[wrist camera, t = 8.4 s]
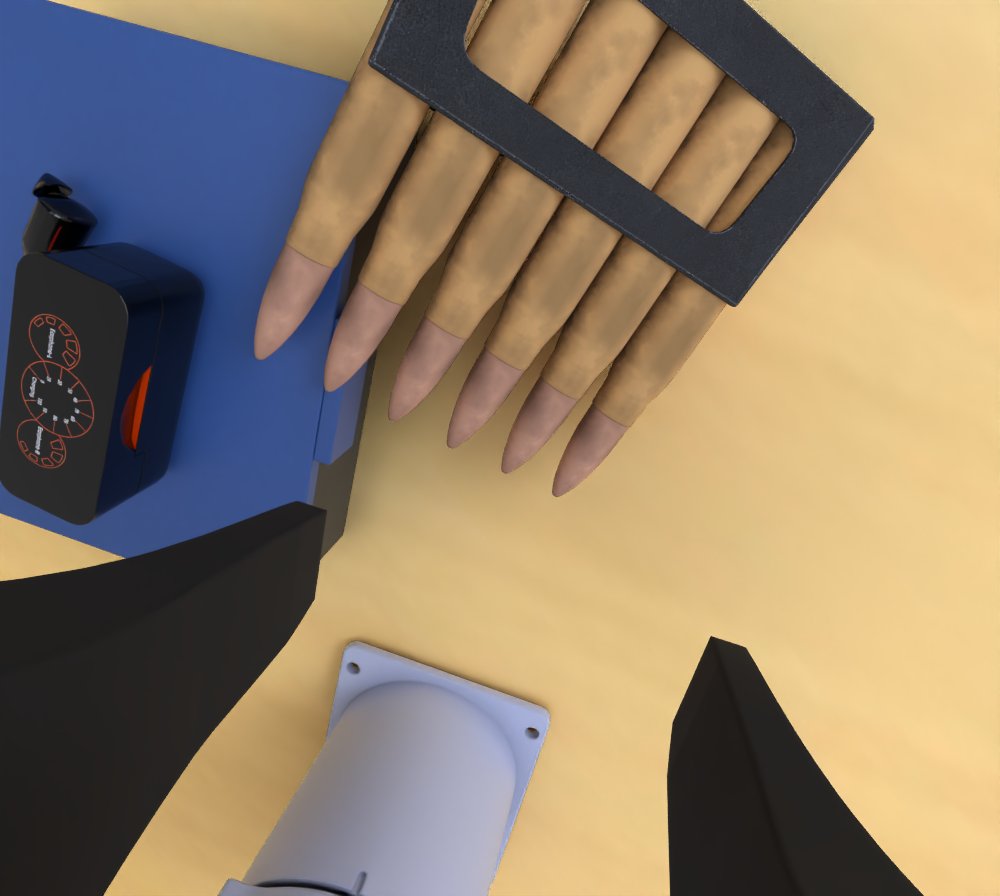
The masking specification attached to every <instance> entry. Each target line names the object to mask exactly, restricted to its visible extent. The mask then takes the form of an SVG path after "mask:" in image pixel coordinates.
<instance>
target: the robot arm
mask: <svg viewBox="0 0 1000 896" xmlns="http://www.w3.org/2000/svg"><path fill="white" fill-rule="evenodd" d="M326 516H327V510H325V509H321V508H318V507H315V506H312V505H309V504H306V503H303V502H300V501H294V502H291V503H288V504H285V505H282V506H279V507H277V508H274V509H271V510H269V511H266V512H263V513H261V514H258V515H255V516H253V517H250V518H248V519H245V520H242V521H240V522H237V523H234V524H232V525H229V526H226V527H224V528H221V529H218V530H215V531H213V532H210V533H207V534H205V535H202V536H198V537H195V538H192V539H189V540H186V541H183V542H180V543H177V544H174V545H171V546H167V547H164V548H161V549H158V550H155V551H152V552H148V553H145V554H141V555H138V556H134V557H130V558H126V559H122V560H118V561H114V562H109V563H105V564H101V565H96V566H92V567H87V568H82V569H77V570H71V571H65V572H59V573H53V574H47V575H41V576H35V577H29V578H23V579H15V580H7V581H0V896H103V895H104V893H105V892H106V890H107V888H108V887H109V885H110V884H111V882H112V880H113V879H114V877H115V876H116V874H117V872H118V871H119V869H120V867H121V866H122V864H123V863H124V861H125V859H126V858H127V856H128V855H129V853H130V851H131V850H132V848H133V847H134V845H135V844H136V842H137V841H138V839H139V838H140V836H141V835H142V833H143V831H144V830H145V828H146V827H147V825H148V824H149V822H150V821H151V819H152V818H153V816H154V815H155V813H156V811H157V810H158V808H159V807H160V805H161V804H162V802H163V801H164V799H165V798H166V796H167V795H168V793H169V792H170V791H171V789H172V788H173V786H174V785H175V783H176V782H177V780H178V779H179V777H180V776H181V774H182V773H183V771H184V770H185V768H186V767H187V766H188V764H189V763H190V761H191V760H192V758H193V757H194V755H195V754H196V753H197V751H198V750H199V749H200V747H201V746H202V745H203V744H204V742H205V741H206V740H207V738H208V737H209V736H210V734H211V733H212V732H213V731H214V730H215V728H216V727H217V726H218V725H219V724H220V722H221V721H222V720H223V719H224V718H225V716H226V715H227V714H228V713H229V712H230V711H231V709H232V708H233V707H234V706H235V705H236V703H237V702H238V701H239V700H240V699H241V697H242V696H243V695H244V694H245V693H246V692H247V690H248V689H249V688H250V687H251V686H252V684H253V683H254V682H255V681H256V680H257V679H258V677H259V676H260V675H261V674H262V673H263V671H264V670H265V669H266V668H267V667H268V665H269V664H270V663H271V662H272V660H273V659H274V658H275V657H276V656H277V654H278V653H279V652H280V651H281V650H282V648H283V647H284V646H285V645H286V643H287V642H288V641H289V639H290V637H291V636H292V634H293V633H294V631H295V630H296V628H297V627H298V625H299V624H300V622H301V620H302V619H303V617H304V616H305V614H306V612H307V611H308V609H309V607H310V606H311V604H312V602H313V601H314V599H315V592H316V585H317V578H318V571H319V564H320V557H321V551H322V544H323V537H324V530H325V523H326ZM352 663H355V664H357V665H358V667H359V668H357V667H355V666H353V665H352ZM549 724H550V714H549V712H548V711H547V710H546V709H545V708H543V707H541V706H539V705H536V704H533V703H530V702H527V701H525V700H522V699H519V698H516V697H513V696H511V695H508V694H505V693H502V692H499V691H497V690H494V689H491V688H488V687H486V686H483V685H480V684H477V683H474V682H472V681H469V680H466V679H463V678H460V677H458V676H455V675H452V674H449V673H446V672H444V671H441V670H438V669H435V668H432V667H430V666H427V665H424V664H421V663H418V662H416V661H413V660H410V659H407V658H405V657H402V656H399V655H396V654H393V653H391V652H388V651H385V650H382V649H379V648H377V647H374V646H371V645H368V644H365V643H363V642H359V641H354V642H351V643H349V644H348V645H347V647H346V648H345V650H344V652H343V657H342V662H341V666H340V671H339V676H338V681H337V686H336V691H335V696H334V701H333V706H332V711H331V716H330V721H329V726H328V731H327V736H326V741H325V744H324V746H323V747H322V749H321V751H320V752H319V754H318V755H317V757H316V759H315V760H314V762H313V764H312V765H311V767H310V769H309V770H308V772H307V774H306V775H305V777H304V779H303V780H302V782H301V784H300V785H299V787H298V788H297V790H296V792H295V793H294V795H293V797H292V798H291V800H290V802H289V803H288V805H287V807H286V808H285V810H284V812H283V813H282V815H281V817H280V818H279V820H278V821H277V823H276V825H275V826H274V828H273V830H272V831H271V833H270V835H269V836H268V838H267V840H266V841H265V843H264V845H263V846H262V848H261V850H260V851H259V853H258V854H257V856H256V858H255V859H254V861H253V863H252V864H251V866H250V868H249V869H248V871H247V873H246V874H245V876H244V878H243V879H242V881H241V882H240V881H238V880H235V879H232V878H231V879H228V880H227V881H226V883H225V884H224V886H223V888H222V889H221V891H220V892H219V894H218V896H488V894H489V890H490V886H491V884H492V882H493V880H494V877H495V875H496V872H497V869H498V866H499V864H500V861H501V858H502V855H503V853H504V850H505V847H506V844H507V841H508V839H509V836H510V833H511V830H512V828H513V825H514V822H515V819H516V817H517V814H518V811H519V808H520V805H521V803H522V800H523V797H524V794H525V792H526V789H527V786H528V783H529V781H530V778H531V775H532V772H533V769H534V767H535V764H536V761H537V758H538V756H539V753H540V750H541V747H542V745H543V742H544V739H545V736H546V733H547V731H548V728H549ZM529 727H531V728H535V729H536V730H537V731H536V732H534V731H531V730H529V729H528V728H529ZM667 797H668V837H669V872H670V896H924V895H923V894H922V893H921V892H920V891H919V890H918V889H917V888H916V887H915V886H914V885H913V884H912V883H911V882H910V880H909V879H908V878H907V877H906V876H905V875H904V874H903V873H902V872H901V871H900V870H899V868H898V867H897V866H896V865H895V864H894V863H893V862H892V861H891V859H890V858H889V857H888V856H887V855H886V854H885V853H884V851H883V850H882V849H881V848H880V847H879V845H878V844H877V843H876V842H875V840H874V839H873V838H872V837H871V836H870V834H869V833H868V832H867V831H866V829H865V828H864V827H863V826H862V824H861V823H860V822H859V821H858V820H857V818H856V817H855V816H854V815H853V813H852V812H851V811H850V809H849V808H848V807H847V806H846V804H845V803H844V802H843V800H842V799H841V798H840V796H839V795H838V794H837V792H836V791H835V789H834V788H833V786H832V785H831V784H830V782H829V781H828V779H827V778H826V776H825V775H824V774H823V772H822V771H821V769H820V768H819V767H818V765H817V764H816V762H815V761H814V759H813V758H812V756H811V755H810V753H809V752H808V750H807V749H806V747H805V746H804V744H803V743H802V741H801V739H800V738H799V736H798V735H797V733H796V731H795V730H794V728H793V727H792V725H791V723H790V722H789V720H788V719H787V717H786V715H785V714H784V712H783V710H782V709H781V707H780V705H779V704H778V702H777V700H776V698H775V697H774V695H773V693H772V692H771V690H770V688H769V686H768V685H767V683H766V681H765V679H764V678H763V676H762V674H761V672H760V671H759V669H758V667H757V665H756V664H755V662H754V660H753V659H752V657H751V655H750V654H749V652H748V650H747V649H746V647H743V646H740V645H737V644H734V643H731V642H728V641H724V640H721V639H718V638H715V637H712V636H711V637H710V639H709V641H708V644H707V646H706V648H705V650H704V653H703V655H702V657H701V659H700V662H699V664H698V666H697V669H696V671H695V673H694V675H693V678H692V680H691V682H690V684H689V687H688V689H687V691H686V693H685V696H684V698H683V700H682V703H681V705H680V707H679V709H678V712H677V714H676V716H675V718H674V721H673V725H672V734H671V743H670V751H669V762H668V773H667Z"/></svg>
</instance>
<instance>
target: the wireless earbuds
mask: <svg viewBox="0 0 1000 896" xmlns="http://www.w3.org/2000/svg"><path fill="white" fill-rule="evenodd" d="M72 192H73V191H72V189H71V188H70V187H69V186H68V185H66V184H65V183H64V182H63V181H61V180H60V179H58V178H57V177H55V176H53V175H51V174H50V173H44V174H43V175H42V176H41V177H40V178H39V180H38V181H37V183H36V184H35V186H34V188H33V190H32V194H33V195H34V196H35V197H38V199H37V202H36V204H35V207H34V209H33V211H32V214H31V216H30V218H29V220H28V223H27V225H26V227H25V229H24V231H23V234H22V249H23V254H24V256H23V257H22V258H21V259H20V261H19V262H18V264H17V268H16V273H15V283H14V293H13V303H12V313H11V323H10V333H9V343H8V353H7V363H6V373H5V383H4V393H3V403H2V413H1V423H0V482H1V483H2V485H3V487H4V488H5V489H6V490H7V491H8V492H9V493H11V494H12V495H14V496H15V497H17V498H19V499H21V500H23V501H25V502H27V503H29V504H32V505H34V506H36V507H38V508H40V509H42V510H44V511H46V512H48V513H50V514H52V515H54V516H56V517H58V518H60V519H63V520H65V521H67V522H69V523H71V524H74V525H85V524H88V523H90V522H92V521H94V520H95V519H97V518H99V517H100V516H102V515H104V514H105V513H107V512H109V511H110V510H112V509H114V508H115V507H117V506H119V505H120V504H122V503H124V502H125V501H127V500H129V499H130V498H132V497H134V496H135V495H137V494H139V493H140V492H142V491H144V490H145V489H147V488H149V487H150V486H152V485H154V484H155V483H157V482H158V481H159V480H160V479H161V478H162V477H164V476H165V474H166V472H167V469H168V466H169V462H170V457H171V453H172V448H173V443H174V439H175V434H176V429H177V425H178V420H179V415H180V411H181V406H182V401H183V397H184V392H185V388H186V383H187V378H188V374H189V369H190V364H191V360H192V355H193V350H194V346H195V341H196V336H197V332H198V327H199V323H200V318H201V313H202V309H203V304H204V299H205V290H204V287H203V284H202V282H201V280H200V279H199V278H198V277H197V276H196V275H195V274H194V273H192V272H191V271H189V270H188V269H186V268H183V267H181V266H179V265H177V264H175V263H172V262H170V261H168V260H166V259H164V258H162V257H159V256H157V255H155V254H153V253H151V252H148V251H146V250H144V249H142V248H140V247H138V246H135V245H133V244H129V243H124V242H116V243H107V244H99V245H91V246H84V245H85V244H86V242H87V240H88V239H89V237H90V235H91V234H92V232H93V230H94V229H95V227H96V226H97V224H98V220H97V218H96V217H95V215H94V214H93V213H92V212H91V211H90V210H89V209H88V208H86V207H85V206H84V205H82V204H81V203H79V202H77V201H76V200H74V199H72V198H70V197H68V196H69V195H71V194H72Z"/></svg>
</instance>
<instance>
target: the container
mask: <svg viewBox="0 0 1000 896" xmlns="http://www.w3.org/2000/svg"><path fill="white" fill-rule="evenodd" d="M349 83H350V82H349V81H345V80H341V79H338V78H334V77H330V76H326V75H323V74H319V73H315V72H312V71H308V70H304V69H300V68H297V67H293V66H289V65H286V64H282V63H278V62H274V61H271V60H267V59H263V58H260V57H256V56H252V55H248V54H245V53H241V52H237V51H234V50H230V49H226V48H222V47H219V46H215V45H211V44H208V43H204V42H200V41H196V40H193V39H189V38H185V37H182V36H178V35H174V34H170V33H167V32H163V31H159V30H156V29H152V28H148V27H144V26H141V25H137V24H133V23H130V22H126V21H122V20H118V19H115V18H111V17H107V16H104V15H100V14H96V13H92V12H89V11H85V10H81V9H78V8H74V7H70V6H66V5H63V4H59V3H55V2H52V1H48V0H0V423H1V413H2V403H3V393H4V383H5V373H6V363H7V353H8V343H9V333H10V323H11V313H12V303H13V293H14V283H15V273H16V268H17V264H18V262H19V261H20V259H21V258H22V257H23V256H24V254H23V249H22V234H23V231H24V229H25V227H26V225H27V223H28V220H29V218H30V216H31V214H32V211H33V209H34V207H35V204H36V202H37V199H38V197H35V196H34V195H33V194H32V190H33V188H34V186H35V184H36V183H37V181H38V180H39V178H40V177H41V176H42V175H43V174H44V173H50V174H51V175H53V176H55V177H57V178H58V179H60V180H61V181H63V182H64V183H65V184H66V185H68V186H69V187H70V188H71V189H72V191H73V192H72V194H71V195H69V196H68V197H70V198H72V199H74V200H76V201H77V202H79V203H81V204H82V205H84V206H85V207H86V208H88V209H89V210H90V211H91V212H92V213H93V214H94V215H95V217H96V218H97V220H98V224H97V226H96V227H95V229H94V230H93V232H92V234H91V235H90V237H89V239H88V240H87V242H86V244H85V245H84V246H91V245H99V244H107V243H116V242H124V243H129V244H133V245H135V246H138V247H140V248H142V249H144V250H146V251H148V252H151V253H153V254H155V255H157V256H159V257H162V258H164V259H166V260H168V261H170V262H172V263H175V264H177V265H179V266H181V267H183V268H186V269H188V270H189V271H191V272H192V273H194V274H195V275H196V276H197V277H198V278H199V279H200V280H201V282H202V284H203V287H204V290H205V299H204V304H203V309H202V313H201V318H200V323H199V327H198V332H197V336H196V341H195V346H194V350H193V355H192V360H191V364H190V369H189V374H188V378H187V383H186V388H185V392H184V397H183V401H182V406H181V411H180V415H179V420H178V425H177V429H176V434H175V439H174V443H173V448H172V453H171V457H170V462H169V466H168V469H167V472H166V474H165V476H164V477H162V478H161V479H160V480H159V481H158V482H157V483H155V484H154V485H152V486H150V487H149V488H147V489H145V490H144V491H142V492H140V493H139V494H137V495H135V496H134V497H132V498H130V499H129V500H127V501H125V502H124V503H122V504H120V505H119V506H117V507H115V508H114V509H112V510H110V511H109V512H107V513H105V514H104V515H102V516H100V517H99V518H97V519H95V520H94V521H92V522H90V523H88V524H85V525H74V524H71V523H69V522H67V521H65V520H63V519H60V518H58V517H56V516H54V515H52V514H50V513H48V512H46V511H44V510H42V509H40V508H38V507H36V506H34V505H32V504H29V503H27V502H25V501H23V500H21V499H19V498H17V497H15V496H14V495H12V494H11V493H9V492H8V491H7V490H6V489H5V488H4V487H3V485H2V483H1V482H0V513H1V514H4V515H7V516H10V517H12V518H15V519H18V520H21V521H24V522H26V523H29V524H32V525H35V526H38V527H40V528H43V529H46V530H49V531H52V532H54V533H57V534H60V535H63V536H66V537H68V538H71V539H74V540H77V541H80V542H82V543H85V544H88V545H91V546H93V547H96V548H99V549H102V550H105V551H107V552H110V553H113V554H116V555H119V556H121V557H124V558H130V557H134V556H138V555H141V554H145V553H148V552H152V551H155V550H158V549H161V548H164V547H167V546H171V545H174V544H177V543H180V542H183V541H186V540H189V539H192V538H195V537H198V536H202V535H205V534H207V533H210V532H213V531H215V530H218V529H221V528H224V527H226V526H229V525H232V524H234V523H237V522H240V521H242V520H245V519H248V518H250V517H253V516H255V515H258V514H261V513H263V512H266V511H269V510H271V509H274V508H277V507H279V506H282V505H285V504H288V503H291V502H294V501H300V502H303V503H306V504H309V505H312V506H315V507H318V508H321V509H325V510H327V516H326V523H325V530H324V537H323V544H322V551H321V557H320V560H321V558H322V557H323V556H324V555H325V554H326V553H327V552H328V551H329V550H330V549H331V547H332V546H333V545H334V544H335V543H336V542H337V541H338V540H339V539H340V538H341V536H342V535H343V531H344V526H345V521H346V515H347V510H348V504H349V499H350V493H351V488H352V483H353V477H354V472H355V466H356V461H357V456H358V450H359V445H360V439H361V434H362V429H363V423H364V418H365V412H366V407H367V401H368V396H369V391H370V385H371V380H372V374H373V369H374V364H375V358H376V353H377V348H376V349H375V350H374V352H373V353H372V354H371V356H370V357H369V358H368V359H367V361H366V362H365V363H364V364H363V365H362V366H361V368H360V369H359V370H358V371H357V372H356V373H355V374H354V375H353V376H352V377H351V378H350V379H349V380H348V381H347V382H345V383H344V384H343V385H342V386H340V387H339V388H337V389H336V390H334V391H332V392H328V391H326V390H325V388H324V372H325V365H326V360H327V356H328V352H329V348H330V344H331V341H332V338H333V335H334V332H335V329H336V327H337V324H338V322H339V319H340V316H341V314H342V312H343V309H344V307H345V305H346V303H347V301H348V299H349V297H350V295H351V293H352V291H353V289H354V287H355V285H356V283H357V281H358V276H359V274H360V272H361V270H362V268H363V265H364V263H365V261H366V259H367V257H368V255H369V253H370V250H371V248H372V245H373V241H374V238H375V235H376V231H377V228H378V224H379V221H380V218H381V216H382V213H383V211H384V209H385V207H386V205H387V203H388V201H389V199H390V197H391V195H392V193H393V191H394V189H395V188H396V186H397V184H398V182H399V180H400V178H401V176H402V174H403V172H404V170H405V168H406V166H407V164H408V162H409V160H410V159H411V157H412V155H413V153H414V147H415V142H416V136H417V132H416V134H415V136H414V138H413V140H412V142H411V144H410V146H409V148H408V150H407V151H406V153H405V155H404V157H403V159H402V161H401V163H400V165H399V167H398V168H397V170H396V172H395V174H394V176H393V178H392V180H391V182H390V184H389V186H388V187H387V189H386V191H385V193H384V195H383V197H382V199H381V201H380V203H379V204H378V206H377V208H376V210H375V211H374V213H373V214H372V215H371V217H370V218H369V219H368V221H367V222H366V223H365V224H364V226H363V227H362V228H361V229H360V231H359V232H358V233H357V234H356V235H355V237H354V238H353V239H352V241H351V243H350V245H349V246H348V248H347V250H346V252H345V253H344V255H343V257H342V259H341V260H340V262H339V264H338V266H337V267H336V268H334V270H333V272H332V274H331V276H330V277H329V279H328V281H327V283H326V285H325V287H324V289H323V290H322V292H321V294H320V296H319V297H318V299H317V300H316V302H315V304H314V305H313V307H312V308H311V310H310V311H309V313H308V314H307V316H306V317H305V318H304V320H303V321H302V322H301V324H300V325H299V326H298V327H297V329H296V330H295V331H294V332H293V334H292V335H291V336H290V337H289V338H288V339H287V340H286V341H285V342H284V343H283V345H282V346H280V347H279V348H278V349H277V350H276V351H275V352H274V353H272V354H271V355H270V356H268V357H267V358H265V359H264V360H258V359H257V358H256V357H255V353H254V338H255V329H256V324H257V318H258V314H259V309H260V305H261V302H262V298H263V295H264V292H265V289H266V286H267V284H268V281H269V278H270V275H271V273H272V270H273V268H274V266H275V263H276V261H277V259H278V257H279V255H280V253H281V250H282V248H283V246H284V244H285V242H286V239H285V238H286V236H287V234H288V231H289V229H290V227H291V224H292V222H293V220H294V217H295V215H296V212H297V210H298V208H299V204H300V200H301V196H302V192H303V188H304V184H305V180H306V177H307V173H308V171H309V168H310V166H311V164H312V161H313V159H314V157H315V155H316V153H317V151H318V149H319V147H320V145H321V142H322V140H323V138H324V136H325V134H326V132H327V130H328V128H329V126H330V123H331V121H332V119H333V117H334V115H335V113H336V111H337V109H338V106H339V104H340V102H341V100H342V98H343V96H344V94H345V92H346V90H347V87H348V85H349ZM377 347H378V346H377Z"/></svg>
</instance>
